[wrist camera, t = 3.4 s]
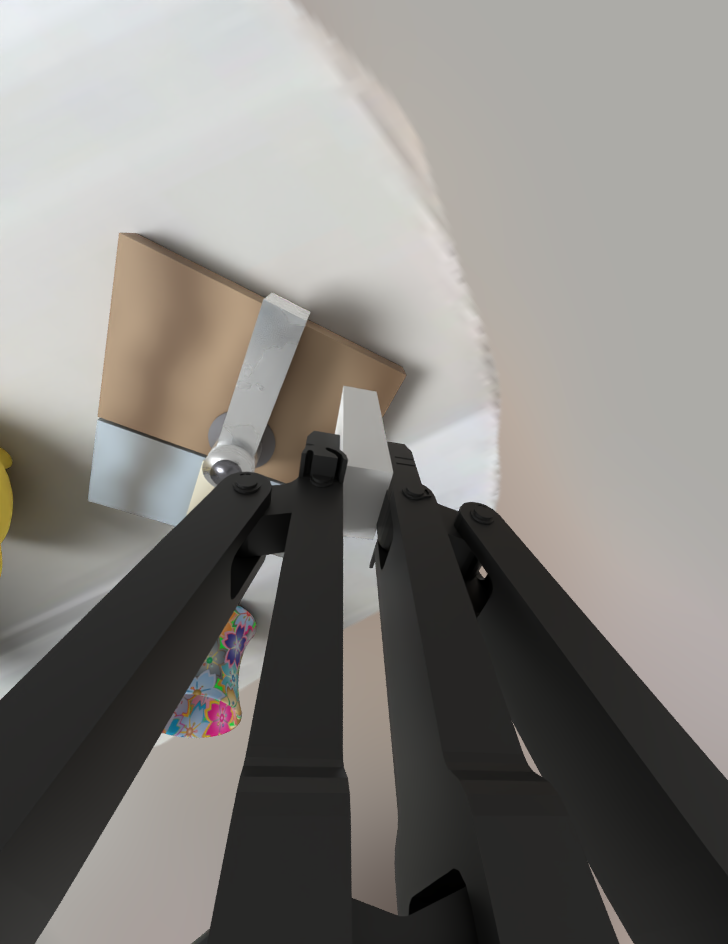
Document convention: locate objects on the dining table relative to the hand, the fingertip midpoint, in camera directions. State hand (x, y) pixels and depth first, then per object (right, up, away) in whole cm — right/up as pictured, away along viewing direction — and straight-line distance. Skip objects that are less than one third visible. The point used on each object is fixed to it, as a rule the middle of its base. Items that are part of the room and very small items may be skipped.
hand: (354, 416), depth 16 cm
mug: (-18, -21, +27) cm, 38 cm away
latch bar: (-7, +3, +9) cm, 12 cm away
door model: (-9, +1, +13) cm, 16 cm away
